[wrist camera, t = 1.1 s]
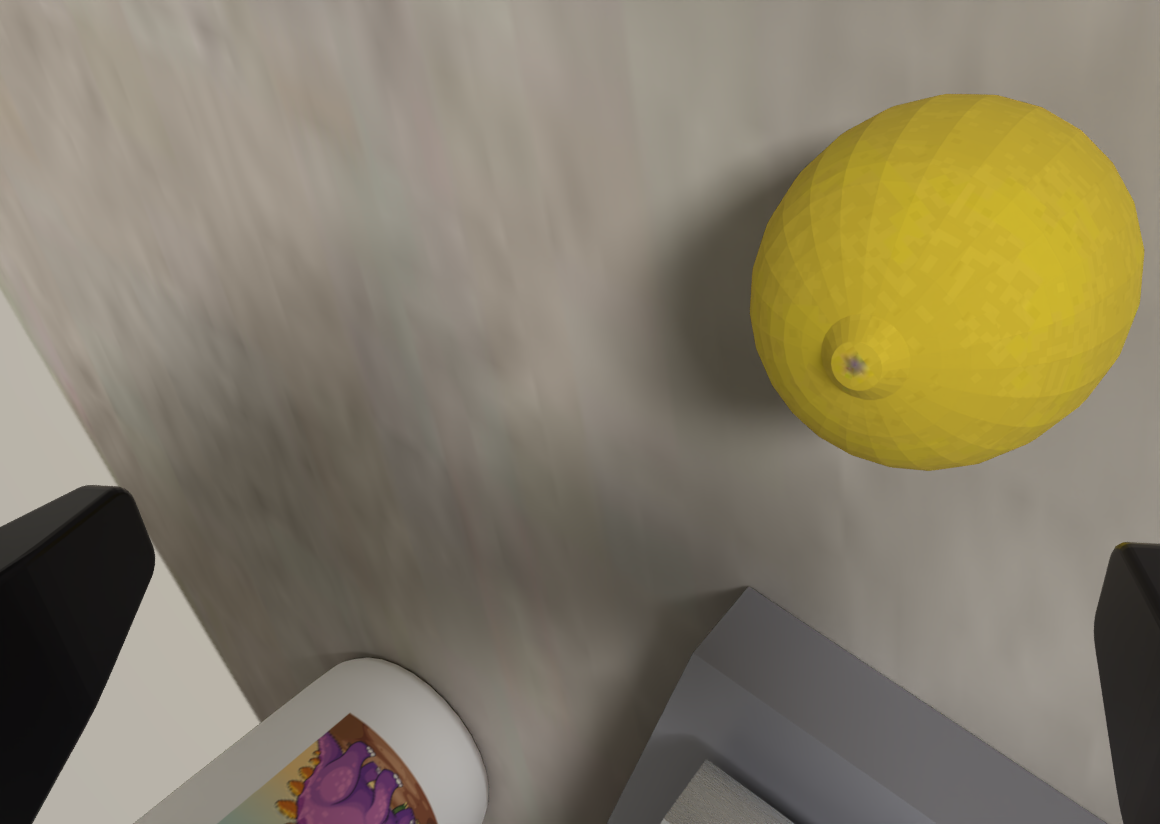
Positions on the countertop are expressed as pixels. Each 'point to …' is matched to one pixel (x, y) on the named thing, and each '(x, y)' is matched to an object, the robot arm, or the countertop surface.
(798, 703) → the base
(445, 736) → the milk bottle
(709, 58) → the countertop surface
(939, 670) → the countertop surface
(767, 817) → the scale pan
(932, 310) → the lemon
